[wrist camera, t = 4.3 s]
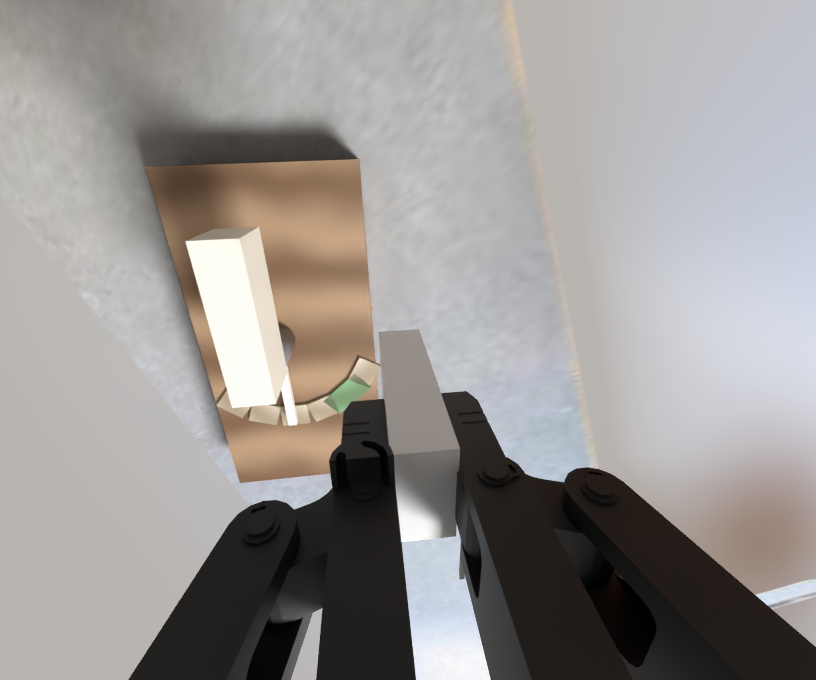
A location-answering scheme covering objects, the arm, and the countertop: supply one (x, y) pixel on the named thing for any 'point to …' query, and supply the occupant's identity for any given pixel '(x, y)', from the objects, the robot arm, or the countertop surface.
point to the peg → (243, 317)
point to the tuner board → (285, 297)
